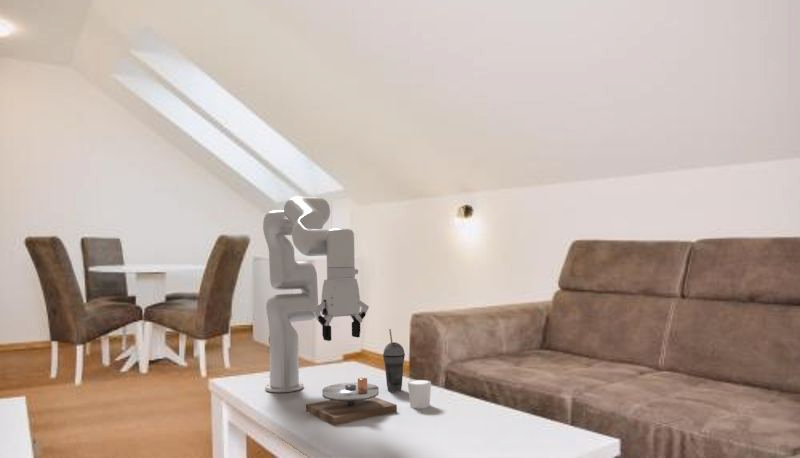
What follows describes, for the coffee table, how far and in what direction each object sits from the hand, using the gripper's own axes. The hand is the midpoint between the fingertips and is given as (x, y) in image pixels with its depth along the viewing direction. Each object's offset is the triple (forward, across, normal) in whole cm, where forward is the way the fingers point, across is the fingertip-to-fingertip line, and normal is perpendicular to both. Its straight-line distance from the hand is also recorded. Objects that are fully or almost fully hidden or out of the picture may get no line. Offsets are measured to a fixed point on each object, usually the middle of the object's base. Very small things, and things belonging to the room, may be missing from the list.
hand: (341, 338), depth 156 cm
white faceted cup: (+22, -25, +1) cm, 34 cm away
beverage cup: (+22, -30, -19) cm, 42 cm away
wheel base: (+22, -6, -7) cm, 24 cm away
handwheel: (+17, -6, -7) cm, 19 cm away
